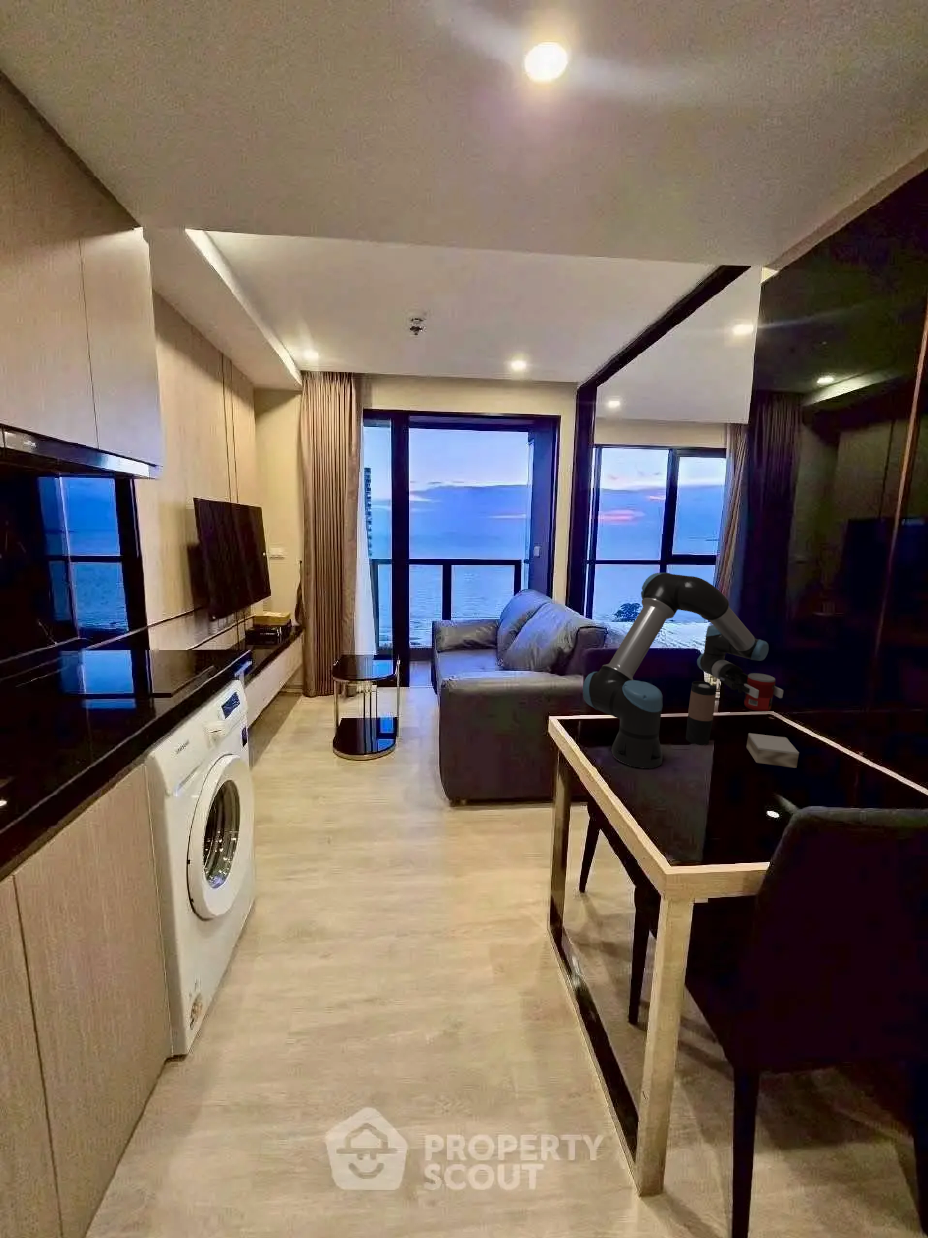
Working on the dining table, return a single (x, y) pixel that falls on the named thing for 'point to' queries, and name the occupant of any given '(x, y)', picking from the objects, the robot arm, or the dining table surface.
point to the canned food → (760, 692)
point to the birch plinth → (772, 750)
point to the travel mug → (700, 712)
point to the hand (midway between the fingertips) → (769, 694)
